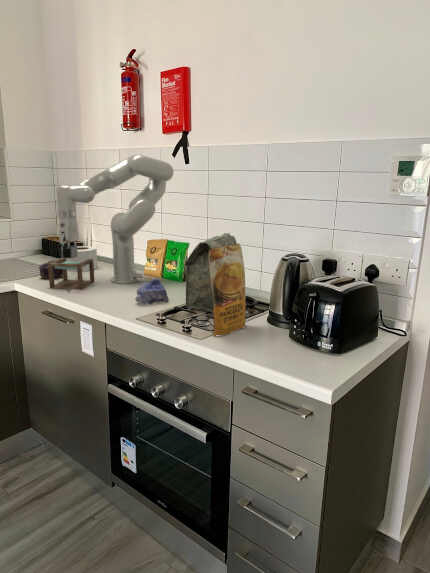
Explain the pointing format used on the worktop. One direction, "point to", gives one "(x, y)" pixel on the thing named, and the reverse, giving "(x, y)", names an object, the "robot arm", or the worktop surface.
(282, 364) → the worktop surface
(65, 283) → the frame
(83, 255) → the toilet paper roll
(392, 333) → the worktop surface
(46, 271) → the rock
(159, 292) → the mineral
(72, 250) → the gray cube
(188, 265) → the bag
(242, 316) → the pancake mix bag
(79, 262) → the trapdoor
